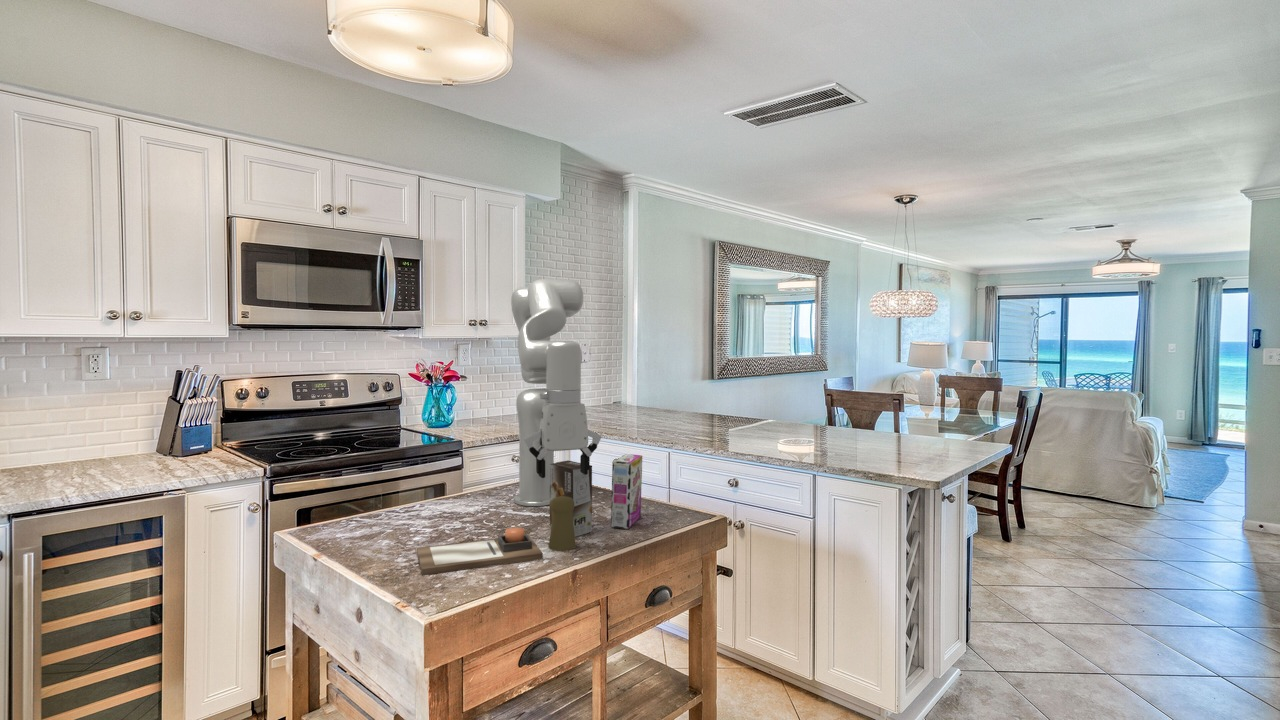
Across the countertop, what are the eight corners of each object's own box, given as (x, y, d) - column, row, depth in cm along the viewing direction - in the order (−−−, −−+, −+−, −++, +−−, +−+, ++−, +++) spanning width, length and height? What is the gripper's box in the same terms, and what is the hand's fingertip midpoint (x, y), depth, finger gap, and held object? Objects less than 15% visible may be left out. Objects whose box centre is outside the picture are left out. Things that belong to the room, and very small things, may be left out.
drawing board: (417, 553, 134) (417, 540, 134) (528, 539, 144) (528, 527, 144) (422, 575, 122) (422, 560, 122) (542, 558, 132) (542, 545, 132)
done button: (503, 537, 137) (503, 528, 137) (521, 535, 138) (521, 526, 138) (507, 543, 133) (507, 533, 133) (526, 540, 135) (526, 531, 135)
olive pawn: (571, 552, 136) (571, 501, 136) (544, 549, 137) (544, 500, 137) (579, 543, 142) (579, 494, 142) (553, 540, 143) (554, 493, 143)
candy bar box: (629, 530, 152) (630, 462, 151) (610, 528, 153) (611, 461, 152) (642, 517, 162) (643, 454, 162) (623, 515, 164) (624, 453, 163)
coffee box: (593, 532, 150) (594, 465, 149) (573, 538, 145) (573, 469, 145) (568, 523, 156) (568, 459, 156) (547, 529, 152) (548, 463, 151)
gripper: (528, 400, 131) (528, 481, 132) (606, 398, 138) (605, 475, 139) (520, 397, 138) (520, 474, 139) (595, 395, 145) (594, 469, 145)
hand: (563, 475), depth 139 cm, fingers open, 9 cm apart
